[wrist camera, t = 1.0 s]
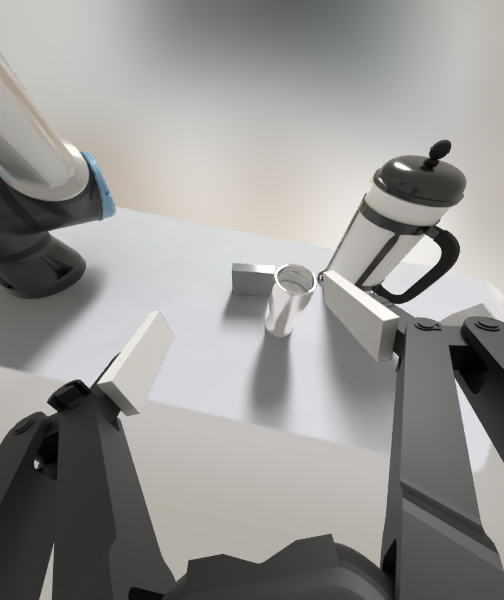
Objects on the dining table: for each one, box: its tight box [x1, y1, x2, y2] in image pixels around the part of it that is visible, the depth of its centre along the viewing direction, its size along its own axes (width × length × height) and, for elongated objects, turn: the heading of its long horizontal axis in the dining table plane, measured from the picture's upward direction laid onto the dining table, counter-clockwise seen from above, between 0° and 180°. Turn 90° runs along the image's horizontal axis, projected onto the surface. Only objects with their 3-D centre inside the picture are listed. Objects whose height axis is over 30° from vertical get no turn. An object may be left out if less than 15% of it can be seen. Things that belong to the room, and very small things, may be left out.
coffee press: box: [318, 140, 466, 304], centre depth 37 cm, size 17×16×30 cm
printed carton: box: [439, 303, 496, 326], centre depth 37 cm, size 4×7×10 cm, turn 178°
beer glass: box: [265, 264, 317, 338], centre depth 35 cm, size 7×7×15 cm
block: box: [232, 263, 275, 296], centre depth 43 cm, size 2×9×8 cm, turn 88°
